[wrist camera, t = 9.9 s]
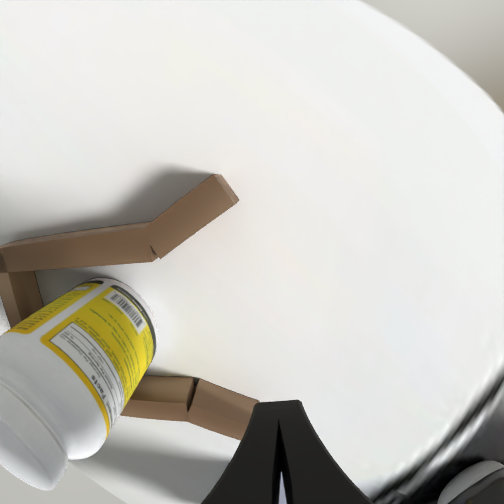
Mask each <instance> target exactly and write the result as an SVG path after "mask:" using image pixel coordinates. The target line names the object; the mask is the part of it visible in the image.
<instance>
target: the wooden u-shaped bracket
mask: <svg viewBox="0 0 504 504" xmlns="http://www.w3.org/2000/svg"><path fill="white" fill-rule="evenodd" d="M238 201H239V199H238V197H237V196H236V195H235V193H234V192H233V190H232V189H231V188H230V186H229V185H228V183H227V182H226V181H225V179H224V178H223V176H222V175H215V174H213V175H212V176H210V177H209V178H208V179H206V180H205V181H204V182H202V183H201V184H200V185H198V186H197V187H196V188H194V189H193V190H192V191H190V192H189V193H188V194H186V195H185V196H184V197H182V198H181V199H180V200H179V201H177V202H176V203H175V204H173V205H172V206H171V207H170V208H168V209H167V210H166V211H165V212H163V213H162V214H161V215H160V216H158V217H157V218H156V219H155V220H153V221H151V222H143V223H134V224H126V225H119V226H111V227H103V228H96V229H89V230H82V231H75V232H68V233H61V234H55V235H48V236H42V237H36V238H30V239H24V240H18V241H13V242H10V243H7V244H5V245H2V246H0V295H1V299H2V302H3V305H4V308H5V312H6V315H7V318H8V321H9V324H10V327H11V328H12V327H14V326H15V325H17V324H19V323H20V322H22V321H23V320H25V319H26V318H28V317H29V316H31V315H32V314H34V313H35V312H37V311H38V310H40V309H42V308H43V303H42V300H41V296H40V292H39V289H38V285H37V281H36V277H35V273H34V271H37V270H50V269H64V268H77V267H91V266H104V265H117V264H131V263H144V262H153V261H154V260H155V259H157V258H158V257H159V258H160V259H161V258H162V257H164V256H165V255H166V254H168V253H169V252H170V251H172V250H173V249H174V248H176V247H177V246H178V245H180V244H181V243H182V242H184V241H185V240H186V239H188V238H189V237H190V236H192V235H193V234H195V233H196V232H197V231H199V230H200V229H201V228H203V227H204V226H206V225H207V224H208V223H210V222H211V221H212V220H214V219H215V218H217V217H218V216H219V215H221V214H222V213H224V212H225V211H226V210H228V209H229V208H231V207H232V206H233V205H235V204H236V203H237V202H238ZM256 403H259V401H258V400H255V399H252V398H249V397H246V396H244V395H241V394H238V393H235V392H233V391H230V390H227V389H225V388H222V387H220V386H217V385H215V384H212V383H210V382H207V381H205V380H202V379H199V381H198V383H197V385H196V387H195V383H194V378H193V377H163V376H143V377H142V378H141V380H140V382H139V383H138V385H137V387H136V389H135V390H134V392H133V394H132V395H131V397H130V399H129V400H128V402H127V404H126V405H125V407H124V409H123V411H122V412H121V414H120V415H122V416H129V417H138V418H147V419H157V420H170V421H187V422H190V423H192V424H195V425H197V426H200V427H203V428H205V429H208V430H211V431H214V432H217V433H220V434H222V435H225V436H228V437H232V438H235V439H238V440H242V438H243V436H244V433H245V431H246V429H247V426H248V424H249V421H250V418H251V415H252V411H253V407H254V405H255V404H256Z"/></svg>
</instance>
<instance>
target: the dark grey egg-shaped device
mask: <svg viewBox="0 0 504 504" xmlns="http://www.w3.org/2000/svg"><path fill="white" fill-rule="evenodd" d="M438 504H504V465H502V464H501V463H499V462H496V461H482V462H479V463H476V464H474V465H472V466H470V467H468V468H466V469H465V470H463V471H462V472H460V473H459V474H458V475H456V476H455V477H454V478H453V479H452V480H451V481H450V482H449V483H448V484H447V485H446V486H445V488H444V489H443V491H442V492H441V494H440V497H439V500H438Z"/></svg>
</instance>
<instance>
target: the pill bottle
mask: <svg viewBox="0 0 504 504" xmlns="http://www.w3.org/2000/svg"><path fill="white" fill-rule="evenodd" d="M157 347H158V328H157V324H156V320H155V318H154V315H153V313H152V311H151V309H150V308H149V306H148V305H147V303H146V302H145V301H144V300H143V299H142V297H141V296H140V295H139V294H137V293H136V292H135V291H134V290H133V289H131V288H130V287H128V286H127V285H125V284H123V283H121V282H119V281H116V280H113V279H108V278H95V279H91V280H88V281H86V282H84V283H82V284H80V285H78V286H77V287H75V288H73V289H72V290H70V291H68V292H67V293H65V294H64V295H62V296H60V297H59V298H57V299H56V300H54V301H53V302H51V303H49V304H48V305H46V306H45V307H43V308H42V309H40V310H38V311H37V312H35V313H34V314H32V315H31V316H29V317H28V318H26V319H25V320H23V321H22V322H20V323H19V324H17V325H15V326H14V327H12V328H11V329H10V330H8V331H7V332H5V333H4V334H2V335H1V336H0V464H1V465H2V466H3V467H5V468H6V469H7V470H8V471H9V472H11V473H12V474H13V475H15V476H16V477H18V478H19V479H21V480H22V481H24V482H26V483H27V484H29V485H31V486H33V487H36V488H38V489H41V490H52V489H53V488H54V487H55V485H56V484H57V483H58V481H59V480H60V478H61V477H62V475H63V474H64V473H65V471H66V467H67V465H68V459H72V460H76V459H84V458H87V457H89V456H91V455H93V454H95V453H96V452H97V451H98V450H99V449H100V448H101V446H102V445H103V443H104V442H105V440H106V439H107V437H108V435H109V433H110V431H111V430H112V428H113V426H114V425H115V423H116V421H117V419H118V417H119V416H120V414H121V412H122V411H123V409H124V407H125V405H126V404H127V402H128V400H129V399H130V397H131V395H132V394H133V392H134V390H135V389H136V387H137V385H138V383H139V382H140V380H141V378H142V377H143V375H144V373H145V372H146V370H147V368H148V366H149V365H150V363H151V362H152V360H153V357H154V355H155V353H156V350H157Z"/></svg>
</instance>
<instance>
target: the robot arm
mask: <svg viewBox="0 0 504 504" xmlns="http://www.w3.org/2000/svg"><path fill="white" fill-rule="evenodd" d="M201 504H374V503H373V502H372V501H371V500H370V499H369V498H368V497H367V496H366V495H365V494H364V493H363V492H362V491H361V490H360V489H359V488H358V487H357V486H356V485H355V484H354V483H353V482H352V481H351V480H350V479H349V478H348V476H347V475H346V474H345V473H344V472H343V470H342V469H341V468H340V467H339V465H338V464H337V463H336V462H335V460H334V459H333V457H332V456H331V455H330V453H329V452H328V450H327V449H326V447H325V446H324V444H323V443H322V441H321V440H320V438H319V437H318V435H317V433H316V432H315V430H314V428H313V426H312V425H311V423H310V421H309V419H308V417H307V415H306V412H305V410H304V408H303V405H302V402H301V401H299V400H289V401H276V402H259V403H256V404H255V405H254V407H253V411H252V415H251V418H250V421H249V424H248V426H247V429H246V431H245V433H244V436H243V438H242V440H241V442H240V444H239V446H238V448H237V450H236V452H235V454H234V456H233V458H232V459H231V461H230V463H229V464H228V466H227V468H226V469H225V471H224V473H223V474H222V476H221V478H220V479H219V481H218V482H217V483H216V485H215V486H214V488H213V489H212V490H211V492H210V493H209V494H208V496H207V497H206V498H205V499H204V501H203V502H202V503H201Z"/></svg>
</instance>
